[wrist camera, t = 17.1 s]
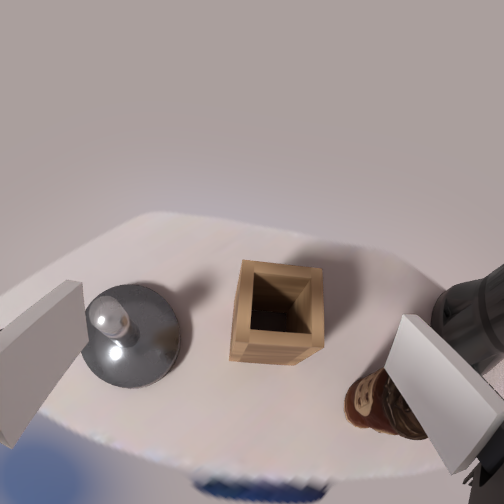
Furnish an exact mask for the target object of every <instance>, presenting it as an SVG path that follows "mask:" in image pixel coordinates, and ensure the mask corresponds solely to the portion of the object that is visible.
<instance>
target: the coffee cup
mask: <svg viewBox="0 0 504 504" xmlns="http://www.w3.org/2000/svg"><path fill="white" fill-rule="evenodd" d="M344 412H345V415H346V419H347V421H348V422H350V423H351V424H353V425H354V426H355V427H359V428H369V427H370V428H372V429H374V430H376V431H378V432H379V433H386V434H391V435H400V436H402V437H404V438H408V439H412V440H422V439H426V438H428V436H427V434H426V432H425V431H424V429H423V428H422V426H421V424H420V423H419V421H418V419H417V418H416V416H415V415H414V413H413V412H412V410H411V408H410V407H409V405H408V404H407V402H406V401H405V399H404V397H403V396H402V394H401V393H400V391H399V390H398V388H397V387H396V385H395V383H394V382H393V380H392V379H391V377H390V376H389V374H388V373H387V371H386V370H385V368H384V367H383V368H381V369H379V370H378V371H376V372H374V373H372V374H370V375H369V376H367V377H365V378H362V379H360V380H358V381H357V382H355V383H354V384H353V385H352V386H351V387H350V388H349V390H348V392H347V394H346V397H345V400H344Z"/></svg>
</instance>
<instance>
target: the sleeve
mask: <svg viewBox="0 0 504 504" xmlns="http://www.w3.org/2000/svg"><path fill="white" fill-rule="evenodd" d="M251 310H256V311H266V312H277V313H286V332H275V331H263V330H252V329H250V323H251ZM322 348H324V302H323V275H322V269H321V268H312V267H303V266H294V265H285V264H276V263H268V262H259V261H250V260H242V265H241V270H240V275H239V280H238V285H237V290H236V295H235V300H234V311H233V322H232V333H231V344H230V355H229V361H237V362H248V363H261V364H276V365H296V364H298V363H299V362H301V361H303V360H304V359H306V358H308V357H309V356H311V355H313V354H314V353H316V352H317V351H319V350H321V349H322Z"/></svg>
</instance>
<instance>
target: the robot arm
mask: <svg viewBox="0 0 504 504" xmlns="http://www.w3.org/2000/svg"><path fill="white" fill-rule="evenodd" d="M431 327H432V328H431ZM431 327H430V326H429V325H428V324H426V323H425V322H424V321H423V320H422V319H421V318H420V317H419V316H418V315H417V314H403V316H402V319H401V322H400V325H399V328H398V331H397V334H396V337H395V339H394V342H393V345H392V348H391V350H390V353H389V356H388V358H387V361H386V364H385V366H384V368H385V370H386V371H387V373H388V374H389V376H390V377H391V379H392V380H393V382H394V383H395V385H396V387H397V388H398V390H399V391H400V393H401V394H402V396H403V397H404V399H405V401H406V402H407V404H408V405H409V407H410V408H411V410H412V412H413V413H414V415H415V416H416V418H417V419H418V421H419V423H420V424H421V426H422V428H423V429H424V431H425V432H426V434H427V436H428V437H429V439H430V441H431V442H432V444H433V445H434V447H435V449H436V450H437V452H438V454H439V455H440V457H441V459H442V461H443V462H444V464H445V466H446V467H447V469H448V471H449V473H450V474H451V475H453V474H456V473H458V472H460V471H463V470H465V469H467V468H468V467H469V465H470V464H471V463H472V462H473V461H474V460H475V458H476V457H477V458H478V460H479V461H480V462H479V464H478V465H477V466H476V467H475V468H474V469H473V470H472V472H471V473H470V474H469V475H468V476H467V477H466V478H465V479H464V481H463V484H466V483H467V481H468V480H469V479H470V478H472V477H473V480H472V481H471V482H470V483H469V486H472V488H471V493H470V499H469V503H468V504H504V399H503V398H502V397H501V396H500V395H499V394H498V393H497V391H496V390H494V388H493V387H492V386H491V385H490V384H488V382H487V381H486V380H485V379H484V378H483V377H482V375H484V374H486V373H487V372H489V371H490V370H491V369H492V368H493V367H495V366H496V365H497V364H498V363H499V362H500V361H501V360H502V359H504V264H503V265H501V266H500V267H499V268H497V269H496V270H494V271H493V272H492V273H491V274H489V275H488V276H486V277H485V278H483V279H479V280H474V281H470V282H464V283H460V284H457V285H454V286H453V287H451V288H450V289H448V290H447V291H445V292H444V293H443V294H442V295H441V296H440V297H439V298H438V300H437V302H436V304H435V306H434V310H433V314H432V324H431ZM88 342H89V338H88V331H87V324H86V316H85V307H84V297H83V286H82V282H77V281H71V280H66V281H64V282H63V283H62V284H60V285H59V286H58V287H56V288H55V289H54V290H52V291H51V292H50V293H48V294H47V295H46V296H44V297H43V298H42V299H40V300H39V301H38V302H36V303H35V304H34V305H33V306H31V307H30V308H29V309H27V310H26V311H25V312H24V313H22V314H21V315H20V316H19V317H17V318H16V319H15V320H14V321H12V322H11V323H10V324H9V325H7V326H6V327H5V328H3V329H1V330H0V443H1V444H3V445H5V446H7V447H9V448H11V449H13V447H14V446H15V444H16V443H17V441H18V440H19V438H20V437H21V435H22V433H23V432H24V430H25V429H26V427H27V426H28V424H29V423H30V421H31V420H32V418H33V417H34V415H35V414H36V413H37V411H38V410H39V408H40V407H41V405H42V404H43V402H44V401H45V400H46V398H47V397H48V395H49V394H50V393H51V391H52V390H53V388H54V387H55V386H56V384H57V383H58V381H59V380H60V379H61V377H62V376H63V375H64V373H65V372H66V371H67V369H68V368H69V367H70V365H71V364H72V363H73V361H74V360H75V359H76V357H77V356H78V355H79V353H80V352H81V351H82V350H83V348H84V347H85V346H86V344H87V343H88Z"/></svg>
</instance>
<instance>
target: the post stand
mask: <svg viewBox="0 0 504 504" xmlns="http://www.w3.org/2000/svg"><path fill="white" fill-rule="evenodd" d="M85 316H86V324H87V331H88V338H89V342H88V343H87V344H86V346H85V347H84V348H83V350H82V351H81V353H82V356H83V358H84V360H85V362H86V364H87V365H88V367H89V368H90V369H91V371H92V372H93V373H94V374H95V375H97V376H98V377H99V378H100V379H102V380H104V381H105V382H107V383H109V384H112V385H115V386H118V387H122V388H129V389H134V388H142V387H146V386H149V385H151V384H153V383H155V382H157V381H158V380H160V379H161V378H162V377H164V376H165V375H166V374H167V373H168V371H169V370H170V369H171V368H172V366H173V364H174V363H175V361H176V358H177V356H178V352H179V348H180V329H179V325H178V322H177V319H176V317H175V314H174V312H173V310H172V308H171V307H170V306H169V304H168V303H167V302H166V301H165V299H164V298H163V297H161V296H160V295H159V294H158V293H156V292H154V291H153V290H151V289H149V288H146V287H143V286H139V285H129V284H128V285H120V286H115V287H113V288H110V289H108V290H106V291H104V292H102V293H101V294H99V295H98V296H97V297H96V298H95V299H94V300H93V301H92V302H91V303H90V304H89V306H88V307H87V309H86V311H85Z"/></svg>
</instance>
